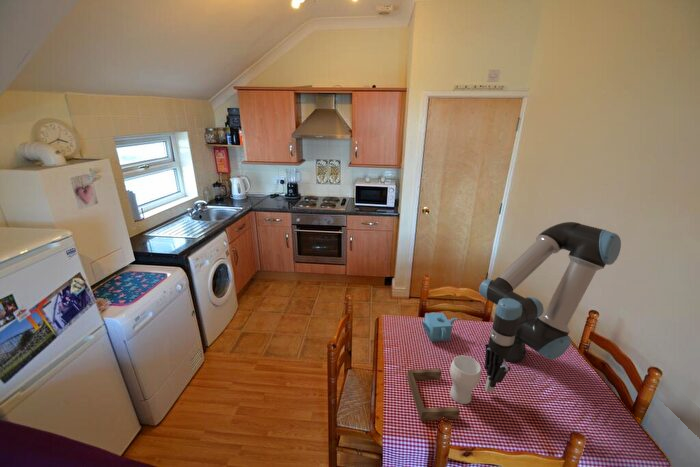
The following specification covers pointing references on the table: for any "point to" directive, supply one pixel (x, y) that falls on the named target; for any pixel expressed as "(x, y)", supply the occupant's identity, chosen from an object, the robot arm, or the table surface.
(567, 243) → the robot arm
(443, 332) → the teapot
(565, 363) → the table surface
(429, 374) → the wooden u-shaped bracket
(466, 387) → the cup
